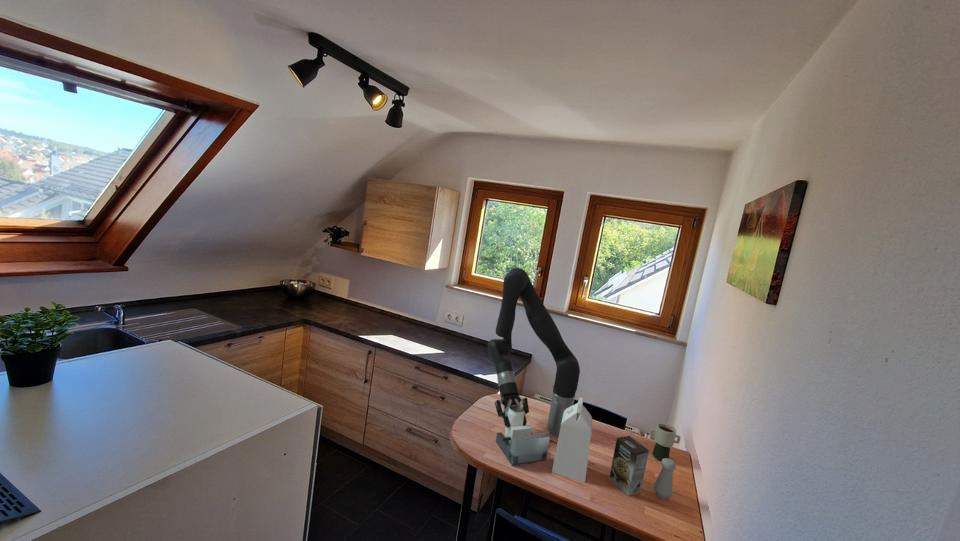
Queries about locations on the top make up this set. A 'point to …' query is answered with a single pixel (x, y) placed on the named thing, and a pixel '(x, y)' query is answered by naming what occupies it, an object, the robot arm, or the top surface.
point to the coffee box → (628, 465)
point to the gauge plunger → (518, 432)
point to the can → (514, 418)
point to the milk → (573, 443)
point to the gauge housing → (524, 448)
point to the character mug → (663, 440)
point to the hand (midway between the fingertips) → (516, 426)
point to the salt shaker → (665, 479)
